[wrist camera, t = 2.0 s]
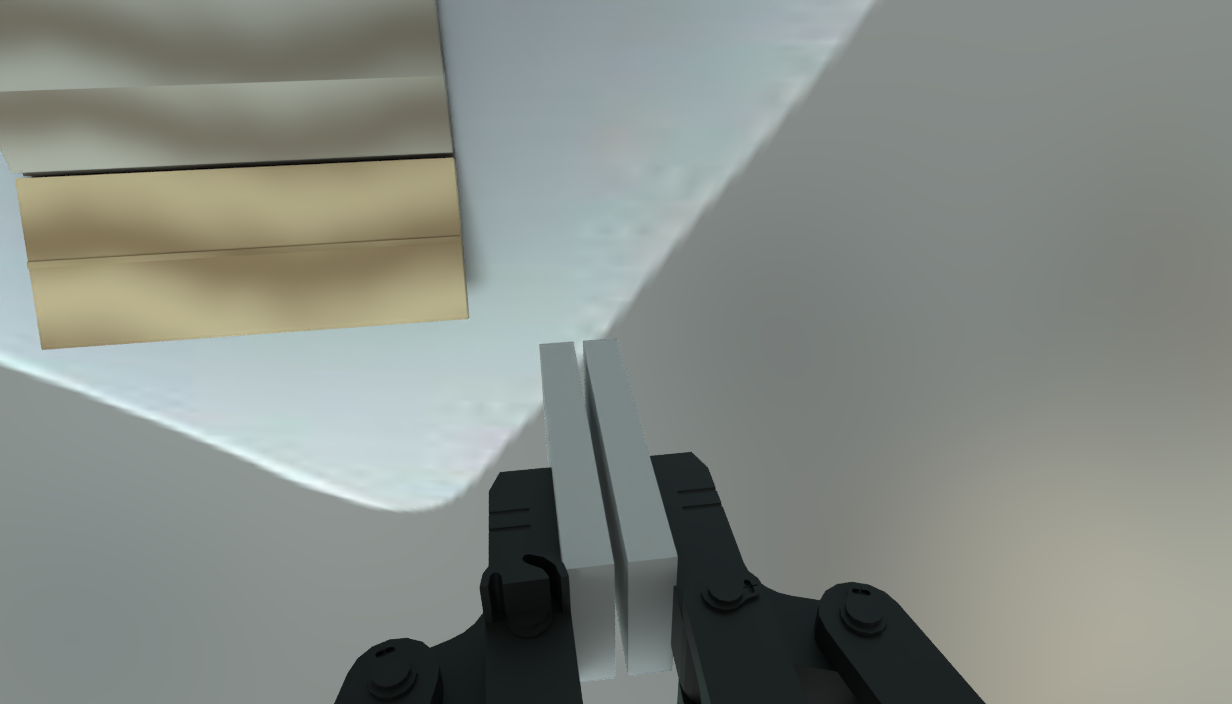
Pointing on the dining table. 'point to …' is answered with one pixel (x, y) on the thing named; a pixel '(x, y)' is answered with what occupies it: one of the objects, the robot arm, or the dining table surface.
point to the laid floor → (218, 83)
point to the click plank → (242, 250)
